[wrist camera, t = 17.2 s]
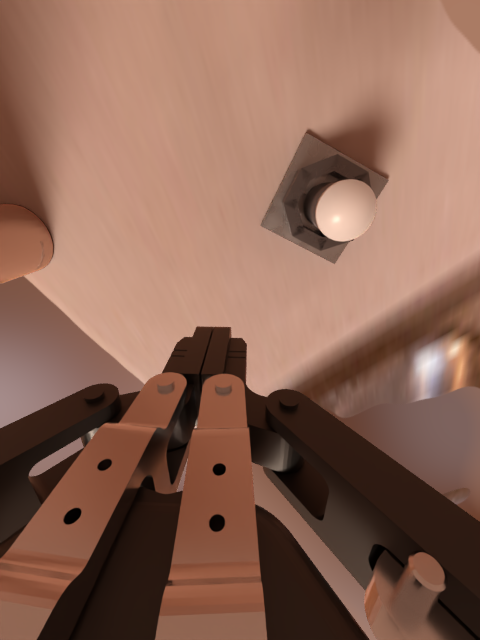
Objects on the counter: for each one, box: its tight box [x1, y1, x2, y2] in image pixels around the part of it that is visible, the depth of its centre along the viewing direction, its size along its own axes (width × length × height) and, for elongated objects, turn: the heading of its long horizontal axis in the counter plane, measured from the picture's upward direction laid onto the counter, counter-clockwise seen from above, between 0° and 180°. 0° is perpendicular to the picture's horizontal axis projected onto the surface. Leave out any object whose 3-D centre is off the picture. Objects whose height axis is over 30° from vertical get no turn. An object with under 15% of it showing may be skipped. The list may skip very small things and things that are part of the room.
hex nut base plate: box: [261, 133, 388, 264], centre depth 32 cm, size 11×11×4 cm
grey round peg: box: [304, 179, 377, 241], centre depth 29 cm, size 5×5×10 cm
